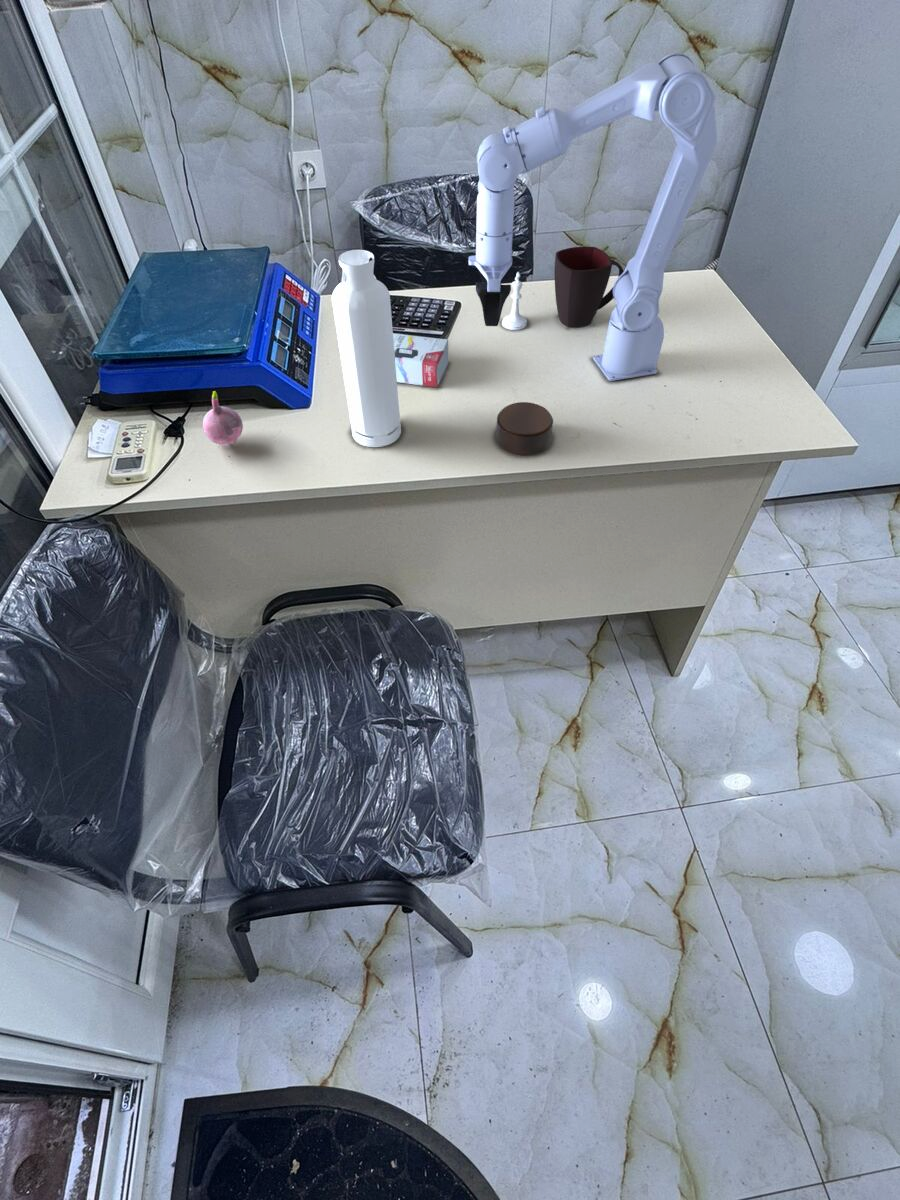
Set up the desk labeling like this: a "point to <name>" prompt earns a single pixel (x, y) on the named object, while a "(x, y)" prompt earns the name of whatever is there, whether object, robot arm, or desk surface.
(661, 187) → the robot arm
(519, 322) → the chess piece
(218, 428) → the vegetable
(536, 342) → the desk surface
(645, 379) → the desk surface
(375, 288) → the bottle
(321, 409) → the desk surface
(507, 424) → the stand
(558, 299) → the cup
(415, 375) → the ink box
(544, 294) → the desk surface
